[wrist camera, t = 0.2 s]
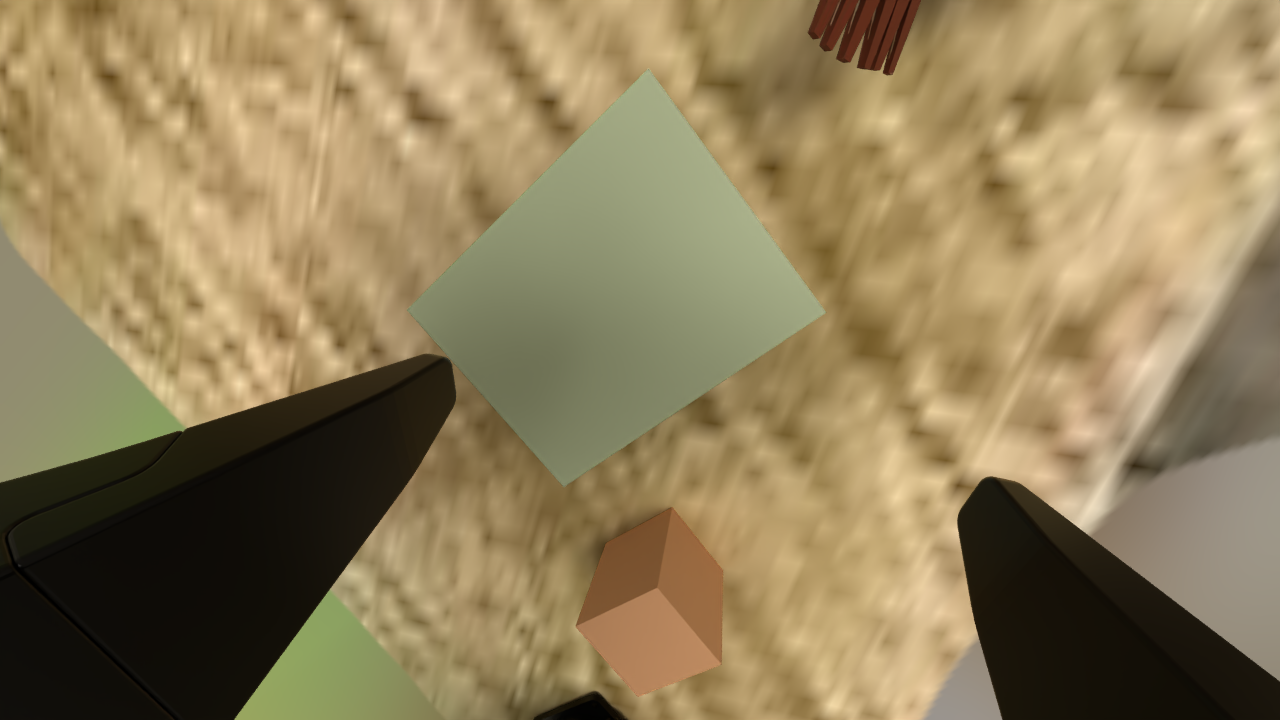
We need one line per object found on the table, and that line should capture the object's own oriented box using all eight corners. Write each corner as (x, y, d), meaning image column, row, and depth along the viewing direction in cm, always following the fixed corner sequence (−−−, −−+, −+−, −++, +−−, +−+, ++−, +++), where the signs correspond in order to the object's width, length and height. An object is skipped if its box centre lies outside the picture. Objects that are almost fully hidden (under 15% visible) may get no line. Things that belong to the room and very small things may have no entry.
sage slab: (583, 453, 23) (563, 487, 20) (447, 296, 22) (406, 309, 19) (811, 296, 19) (826, 312, 16) (661, 90, 18) (648, 68, 15)
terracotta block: (655, 601, 29) (637, 696, 23) (606, 542, 28) (575, 626, 22) (722, 569, 27) (721, 664, 22) (672, 506, 26) (657, 587, 21)
